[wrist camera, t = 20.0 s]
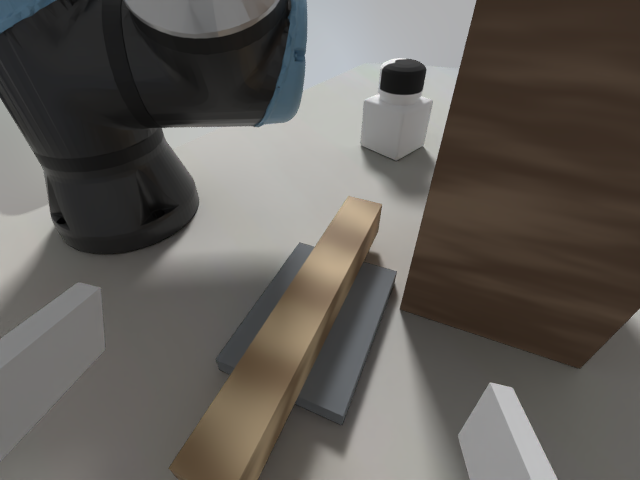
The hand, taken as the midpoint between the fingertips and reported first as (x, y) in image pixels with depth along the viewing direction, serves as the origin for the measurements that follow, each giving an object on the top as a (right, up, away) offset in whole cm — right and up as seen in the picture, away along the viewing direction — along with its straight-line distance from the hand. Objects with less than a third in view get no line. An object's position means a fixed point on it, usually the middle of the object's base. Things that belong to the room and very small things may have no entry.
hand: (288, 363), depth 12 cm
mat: (+1, -3, +18) cm, 18 cm away
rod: (0, -2, +16) cm, 16 cm away
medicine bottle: (+12, +19, +43) cm, 48 cm away
